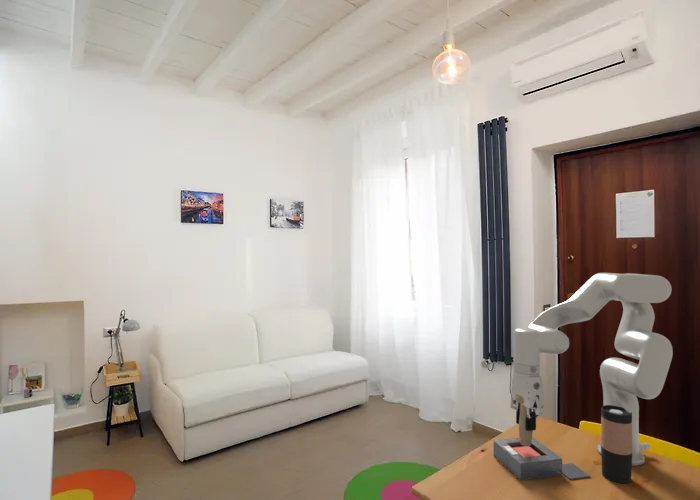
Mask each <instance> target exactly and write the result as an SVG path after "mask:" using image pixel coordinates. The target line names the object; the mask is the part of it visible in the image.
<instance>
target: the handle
mask: <svg viewBox="0 0 700 500" xmlns="http://www.w3.org/2000/svg"><path fill="white" fill-rule="evenodd" d="M515 400H516V401H517V402H519V403H520V416H519V424H518V435H519V437H518V438H520V443H521V445H523V446H527V447H528V446H531V443H532V441H531V440H532V437H533V431H534V430H532V431H527V430H526V417H527V409H526V407H525V406H524V405H522V404H523V399H522V398H520V397H519V396H517V395H515ZM530 411H531V412H532V411H533V410H530Z"/></svg>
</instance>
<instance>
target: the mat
mask: <svg viewBox="0 0 700 500" xmlns="http://www.w3.org/2000/svg"><path fill="white" fill-rule="evenodd" d="M562 476H564V477H565V478H567V479H568V480H571V481H575V480H580V479H588V478H591V475H590V474H588V473H587V472H586V471H585V470H583V469H581V468H580V467H579V466H577V465H576V464H575V463H573V462H570V463H562Z"/></svg>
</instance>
